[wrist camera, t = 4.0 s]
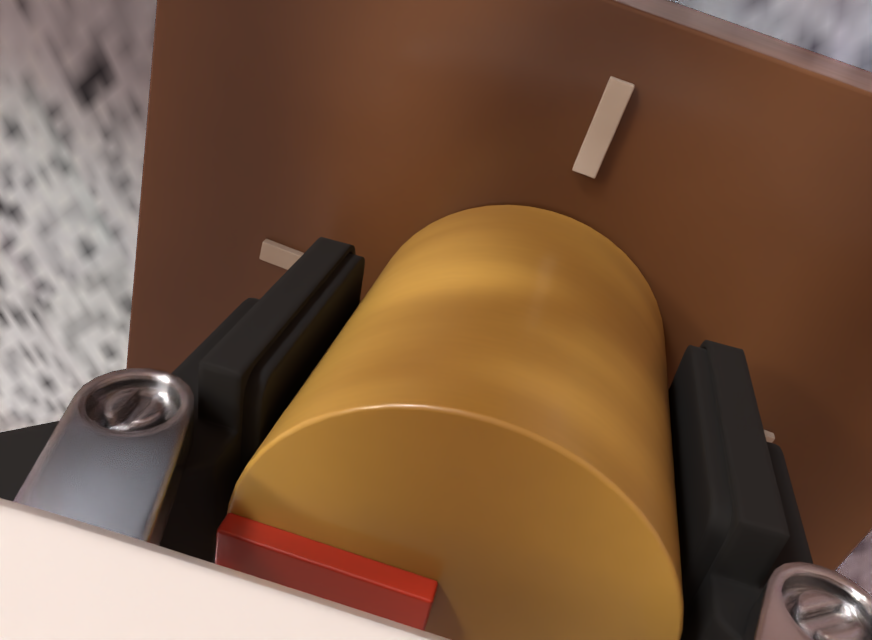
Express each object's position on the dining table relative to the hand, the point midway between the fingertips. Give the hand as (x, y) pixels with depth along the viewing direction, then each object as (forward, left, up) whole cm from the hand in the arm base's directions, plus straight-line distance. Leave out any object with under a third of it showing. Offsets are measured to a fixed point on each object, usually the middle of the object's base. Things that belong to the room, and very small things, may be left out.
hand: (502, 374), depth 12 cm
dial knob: (0, 0, -1) cm, 1 cm away
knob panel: (0, 0, -4) cm, 4 cm away
